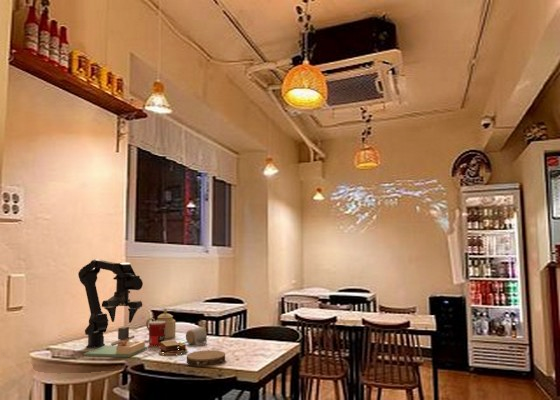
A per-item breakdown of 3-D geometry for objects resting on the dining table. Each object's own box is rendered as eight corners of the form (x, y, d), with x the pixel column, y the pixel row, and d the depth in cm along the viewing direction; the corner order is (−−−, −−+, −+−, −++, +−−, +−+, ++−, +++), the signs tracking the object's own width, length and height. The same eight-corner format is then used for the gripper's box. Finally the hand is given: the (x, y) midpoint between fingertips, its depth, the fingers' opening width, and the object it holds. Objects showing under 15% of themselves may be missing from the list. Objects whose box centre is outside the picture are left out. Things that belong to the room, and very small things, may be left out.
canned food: (161, 346, 217) (161, 323, 219) (145, 346, 219) (146, 323, 220) (168, 343, 225) (168, 320, 226) (153, 342, 227) (153, 320, 228)
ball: (131, 341, 203) (132, 351, 203) (136, 339, 208) (137, 348, 207) (122, 342, 204) (124, 352, 204) (128, 340, 209) (129, 350, 208)
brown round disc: (233, 361, 188) (233, 353, 189) (203, 369, 176) (203, 361, 177) (208, 355, 199) (208, 348, 199) (179, 362, 187) (179, 355, 187)
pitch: (84, 355, 202) (84, 346, 202) (105, 347, 217) (105, 339, 218) (128, 357, 197) (128, 347, 197) (146, 349, 212) (146, 340, 213)
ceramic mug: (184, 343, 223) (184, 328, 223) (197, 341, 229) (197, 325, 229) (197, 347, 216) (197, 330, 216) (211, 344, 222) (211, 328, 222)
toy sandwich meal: (163, 357, 196) (163, 346, 196) (155, 352, 207) (155, 341, 208) (191, 354, 202) (191, 343, 203) (181, 348, 214) (181, 338, 214)
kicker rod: (109, 353, 198) (109, 330, 199) (130, 345, 215) (130, 324, 216) (115, 353, 198) (115, 331, 199) (136, 345, 214) (136, 324, 215)
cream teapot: (160, 341, 231) (160, 311, 232) (144, 339, 236) (145, 310, 238) (179, 335, 244) (179, 307, 246) (164, 334, 249) (164, 306, 251)
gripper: (94, 290, 210) (93, 324, 208) (130, 291, 205) (129, 326, 204) (109, 288, 221) (108, 320, 219) (143, 289, 216) (142, 322, 215)
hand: (121, 322), depth 214 cm, fingers open, 9 cm apart
